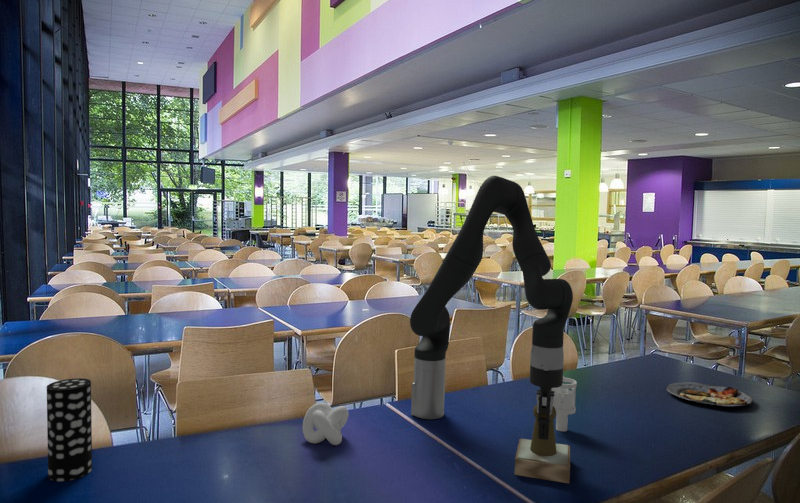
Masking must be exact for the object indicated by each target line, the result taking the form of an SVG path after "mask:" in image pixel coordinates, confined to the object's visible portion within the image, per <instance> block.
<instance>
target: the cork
mask: <svg viewBox="0 0 800 503" xmlns="http://www.w3.org/2000/svg"><path fill="white" fill-rule="evenodd" d="M532 413H533V416H534V418H535V419H534V425H533V430H532V436H531V440H532V441H531V447H530V450H531V451H532V452H533V453H535V454H537V455H541V456H553V455H555V454H556V444H557V442H556V433H555V422H554V420H556V409H555V408H554V406H553V407H552V414H551V415H550V423H549V437H548V440H544V439H539V437H538V433H539V423H538V421H537V420H538V412H537V403H536V404H535V405H534V407H533V411H532ZM541 418H547V414H544V413H542V414H541Z"/></svg>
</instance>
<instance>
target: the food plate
mask: <svg viewBox="0 0 800 503" xmlns="http://www.w3.org/2000/svg"><path fill="white" fill-rule="evenodd" d="M666 391H667V392H669V393H670V394H672V395H674V396H676V397H678V398H679V399H682V400H683V399H685V400H686V401H687V400H688V401H689V402H696V403H698V404H706V405H710V406H714V405H715V406H722V407H730V408H735V407H746V406H750V405H751V404H752V403H753V402H754V398H753V397H752V396H750V395H749V394H747V393H745V392H743V391H740V390H739V389H738V388H733V387H732V386H727V387H725V386H721V385H716V384H710V383H702V382H701V383H700V382H696V381H695V382H690V381H687V382H674V383H670V384H668V385H667V387H666Z"/></svg>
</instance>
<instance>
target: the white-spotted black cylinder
mask: <svg viewBox="0 0 800 503" xmlns="http://www.w3.org/2000/svg"><path fill="white" fill-rule="evenodd" d="M46 418H47V419H46V425H47V427H46V428H47V430H46V431H47V436H46V437H47V478H48V479H49V480H50V481H53V482H68V481H73V480H77V479H79V478H83V477H84V476H86V475H88V474H89V473H90V472H92V470H93V440H92V439H93V437H92V436H93V435H92V432H93V430H92V423H93V422H92V381H91V380H90V379H88V378H80V377H79V378H67V379H62V380H56V381H53V382H51V383H48V384H47V386H46Z"/></svg>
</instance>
